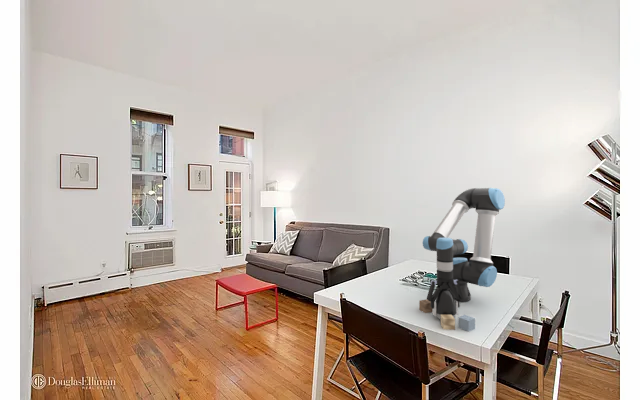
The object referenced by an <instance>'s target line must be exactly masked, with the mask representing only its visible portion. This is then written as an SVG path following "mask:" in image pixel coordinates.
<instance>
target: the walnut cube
mask: <svg viewBox="0 0 640 400" xmlns="http://www.w3.org/2000/svg"><path fill="white" fill-rule="evenodd" d="M418 305H419V309H418V310H420V311H421V312H422V311H423V313H425V314H428V313H432V308H431V301H428V300H427V298H426V299H420V300H419V302H418Z"/></svg>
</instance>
